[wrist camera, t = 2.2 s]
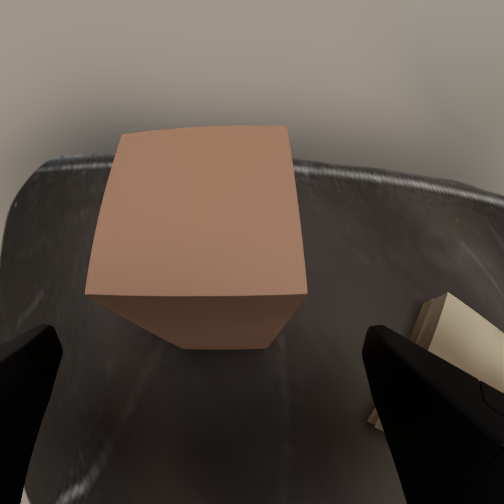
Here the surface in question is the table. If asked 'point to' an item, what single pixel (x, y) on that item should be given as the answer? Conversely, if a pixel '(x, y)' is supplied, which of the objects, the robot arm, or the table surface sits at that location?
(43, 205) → the table surface
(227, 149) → the column
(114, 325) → the table surface
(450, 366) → the robot arm
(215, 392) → the table surface
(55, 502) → the table surface
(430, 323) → the top slab
